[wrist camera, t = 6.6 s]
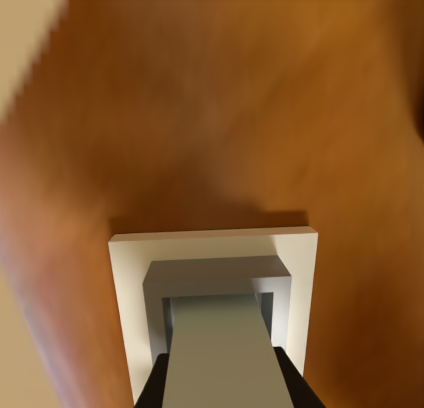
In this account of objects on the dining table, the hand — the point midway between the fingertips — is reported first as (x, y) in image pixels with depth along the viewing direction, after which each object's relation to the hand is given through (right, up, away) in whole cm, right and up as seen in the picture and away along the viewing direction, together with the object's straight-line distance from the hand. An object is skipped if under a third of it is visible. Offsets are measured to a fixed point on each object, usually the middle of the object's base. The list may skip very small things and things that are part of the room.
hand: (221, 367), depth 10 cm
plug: (0, +1, +3) cm, 3 cm away
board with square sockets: (0, -4, +6) cm, 7 cm away
